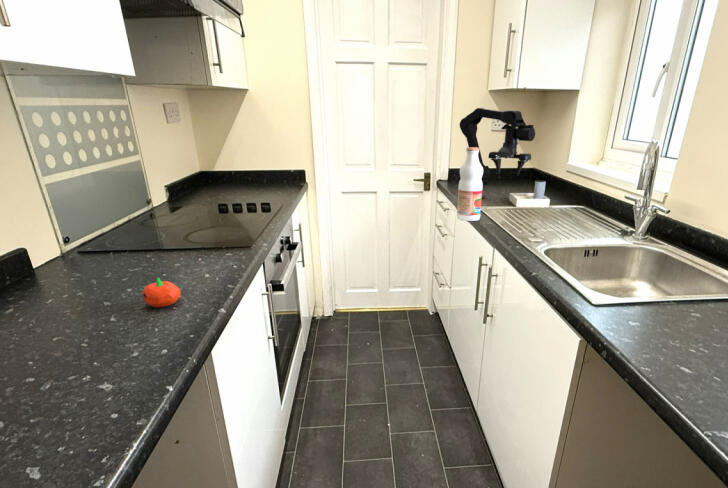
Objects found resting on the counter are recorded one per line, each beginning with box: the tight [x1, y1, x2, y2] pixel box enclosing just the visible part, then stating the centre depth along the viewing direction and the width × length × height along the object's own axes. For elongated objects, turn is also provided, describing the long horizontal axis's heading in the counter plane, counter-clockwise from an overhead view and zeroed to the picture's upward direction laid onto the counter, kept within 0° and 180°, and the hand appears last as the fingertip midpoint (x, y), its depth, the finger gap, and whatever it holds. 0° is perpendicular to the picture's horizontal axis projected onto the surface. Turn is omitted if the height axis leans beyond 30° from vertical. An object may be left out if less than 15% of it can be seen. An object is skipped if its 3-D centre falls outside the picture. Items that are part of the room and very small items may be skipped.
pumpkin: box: [142, 277, 182, 308], centre depth 93 cm, size 7×8×6 cm
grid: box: [508, 192, 551, 208], centre depth 195 cm, size 15×15×4 cm
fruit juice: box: [456, 146, 483, 222], centre depth 163 cm, size 9×9×28 cm
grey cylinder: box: [533, 179, 547, 199], centre depth 190 cm, size 4×4×10 cm
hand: (507, 174), depth 193 cm, fingers open, 9 cm apart
